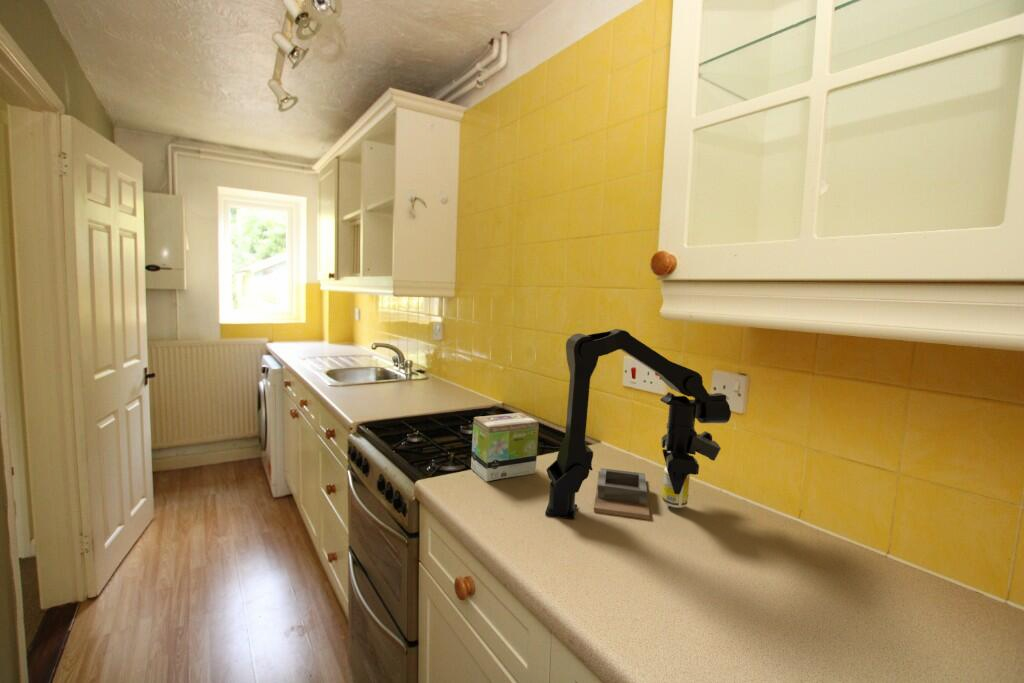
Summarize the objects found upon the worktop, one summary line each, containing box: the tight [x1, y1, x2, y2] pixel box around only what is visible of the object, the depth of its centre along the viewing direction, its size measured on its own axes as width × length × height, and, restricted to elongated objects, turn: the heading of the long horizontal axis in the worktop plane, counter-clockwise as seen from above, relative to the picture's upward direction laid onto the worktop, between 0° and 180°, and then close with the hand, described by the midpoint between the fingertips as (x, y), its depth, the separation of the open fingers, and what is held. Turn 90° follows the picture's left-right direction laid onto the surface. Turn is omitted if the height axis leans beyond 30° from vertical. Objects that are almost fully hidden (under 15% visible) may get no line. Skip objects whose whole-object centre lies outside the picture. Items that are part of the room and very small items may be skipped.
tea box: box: [470, 412, 540, 483], centre depth 125 cm, size 15×10×15 cm
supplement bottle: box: [661, 466, 691, 509], centre depth 108 cm, size 6×6×10 cm
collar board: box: [593, 467, 650, 521], centre depth 114 cm, size 22×12×4 cm, turn 167°
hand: (675, 488), depth 108 cm, fingers closed on supplement bottle, 6 cm apart
